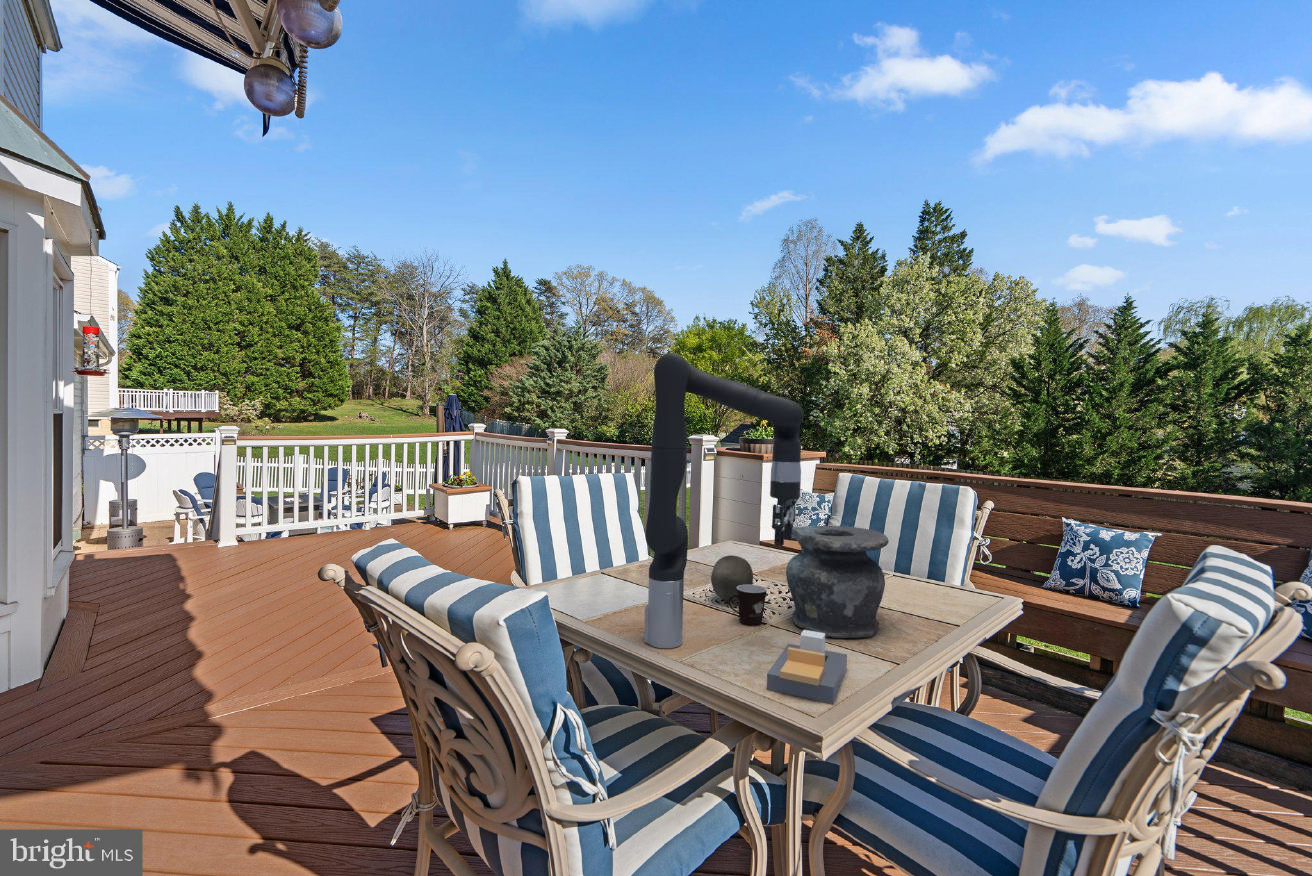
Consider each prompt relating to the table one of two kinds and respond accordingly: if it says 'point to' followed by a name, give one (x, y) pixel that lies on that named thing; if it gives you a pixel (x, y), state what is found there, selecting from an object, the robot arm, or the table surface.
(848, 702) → the table surface
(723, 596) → the grey stone ball
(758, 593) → the coffee mug
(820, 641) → the plug
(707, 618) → the table surface
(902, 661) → the table surface
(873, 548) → the clay pot
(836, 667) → the socket plate
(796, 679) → the tan l-shaped block
